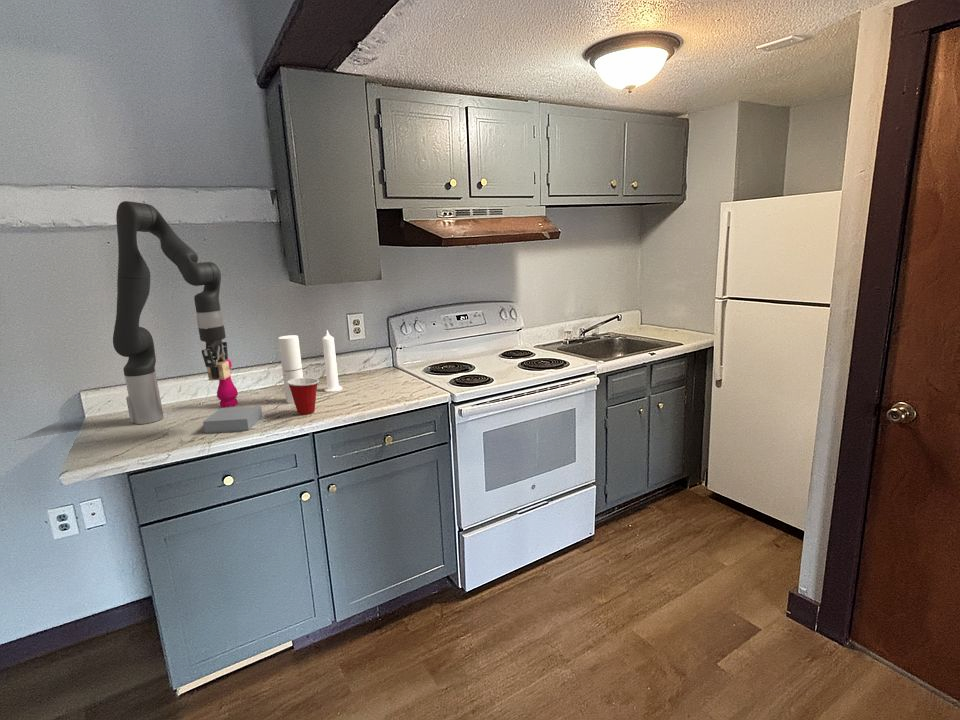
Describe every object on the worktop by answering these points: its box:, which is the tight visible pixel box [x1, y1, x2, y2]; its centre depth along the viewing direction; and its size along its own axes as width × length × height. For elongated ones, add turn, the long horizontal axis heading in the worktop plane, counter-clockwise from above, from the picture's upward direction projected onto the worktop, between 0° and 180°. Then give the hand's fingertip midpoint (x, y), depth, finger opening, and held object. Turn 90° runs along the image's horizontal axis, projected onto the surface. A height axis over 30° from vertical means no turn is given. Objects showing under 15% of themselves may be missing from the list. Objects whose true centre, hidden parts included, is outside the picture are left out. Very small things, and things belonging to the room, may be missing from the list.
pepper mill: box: [216, 358, 239, 408], centre depth 202 cm, size 7×7×20 cm
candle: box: [321, 329, 343, 393], centre depth 217 cm, size 7×7×25 cm
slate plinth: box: [202, 405, 263, 434], centre depth 182 cm, size 14×14×4 cm
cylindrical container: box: [277, 334, 304, 404], centre depth 204 cm, size 7×7×25 cm
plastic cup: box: [287, 377, 320, 416], centre depth 191 cm, size 11×11×12 cm
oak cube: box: [206, 361, 232, 381], centre depth 176 cm, size 5×5×5 cm
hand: (219, 375), depth 176 cm, fingers closed on oak cube, 5 cm apart
